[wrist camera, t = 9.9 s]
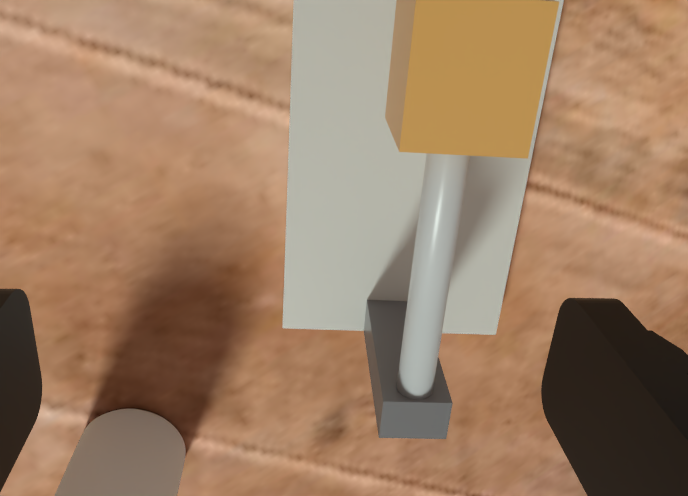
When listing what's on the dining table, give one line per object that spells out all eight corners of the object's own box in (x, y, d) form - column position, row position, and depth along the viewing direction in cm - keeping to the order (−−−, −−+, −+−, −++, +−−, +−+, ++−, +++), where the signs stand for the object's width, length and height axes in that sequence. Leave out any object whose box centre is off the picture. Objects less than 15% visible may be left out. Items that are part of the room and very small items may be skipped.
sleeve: (384, 117, 26) (399, 151, 22) (398, -20, 24) (416, -9, 20) (494, 123, 26) (527, 158, 22) (517, -11, 24) (559, 1, 20)
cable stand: (283, 313, 37) (275, 449, 28) (302, -244, 26) (300, -344, 16) (489, 320, 38) (550, 453, 29) (594, -215, 27) (754, -294, 17)
